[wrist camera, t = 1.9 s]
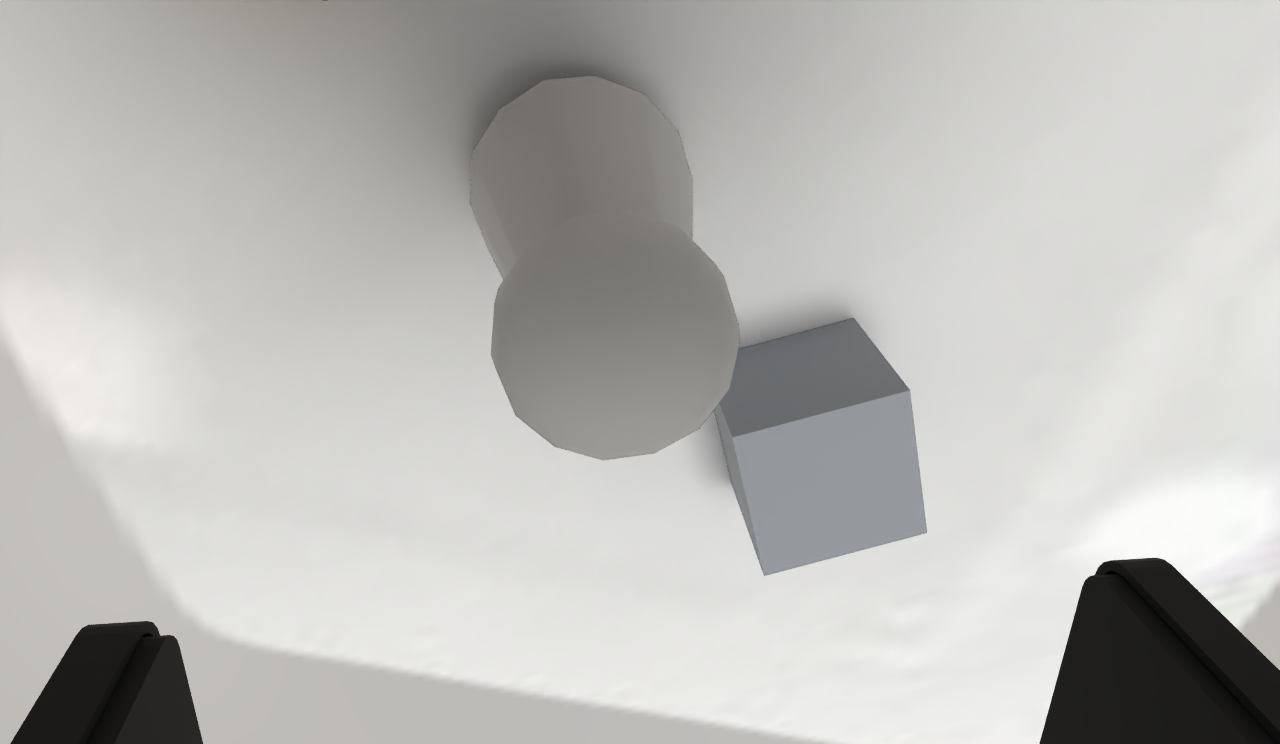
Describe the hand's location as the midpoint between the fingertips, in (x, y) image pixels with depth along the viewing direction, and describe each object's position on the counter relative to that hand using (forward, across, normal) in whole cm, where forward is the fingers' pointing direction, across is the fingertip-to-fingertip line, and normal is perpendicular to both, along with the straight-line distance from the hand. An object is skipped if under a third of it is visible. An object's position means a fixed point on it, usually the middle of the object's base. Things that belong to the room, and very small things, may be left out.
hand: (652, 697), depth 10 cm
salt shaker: (+20, 0, -1) cm, 20 cm away
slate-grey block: (+20, -7, +7) cm, 22 cm away
